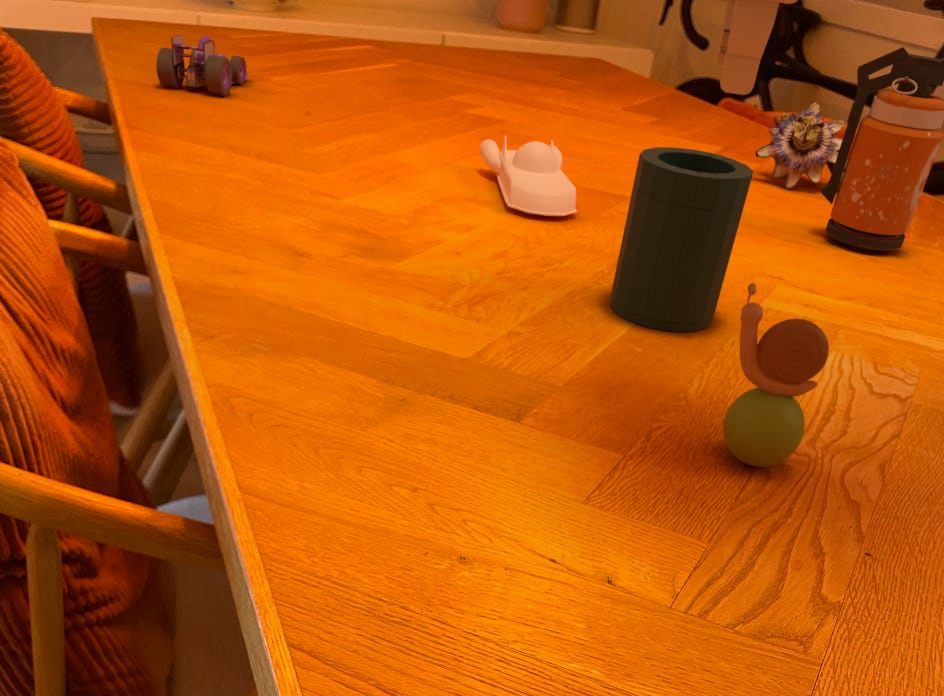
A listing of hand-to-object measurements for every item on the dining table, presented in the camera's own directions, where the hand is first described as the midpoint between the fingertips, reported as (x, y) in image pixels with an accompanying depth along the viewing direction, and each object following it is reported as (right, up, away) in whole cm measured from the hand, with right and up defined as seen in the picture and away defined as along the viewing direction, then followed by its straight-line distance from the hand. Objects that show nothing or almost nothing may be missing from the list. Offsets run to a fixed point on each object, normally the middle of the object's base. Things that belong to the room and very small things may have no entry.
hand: (731, 77), depth 58 cm
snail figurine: (+4, -20, +13) cm, 24 cm away
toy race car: (-54, +49, +89) cm, 115 cm away
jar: (+3, -2, +34) cm, 34 cm away
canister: (+31, +15, +61) cm, 70 cm away
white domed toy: (-8, +20, +61) cm, 65 cm away
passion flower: (+31, +31, +81) cm, 92 cm away
